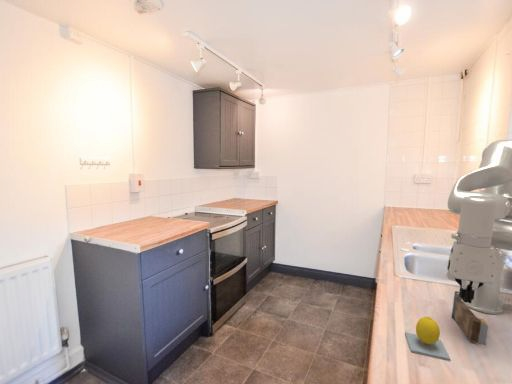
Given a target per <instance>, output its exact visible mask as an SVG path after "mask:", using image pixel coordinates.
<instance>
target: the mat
mask: <svg viewBox="0 0 512 384" xmlns="http://www.w3.org/2000/svg"><path fill="white" fill-rule="evenodd" d="M404 336H405V338H406V342H407V345H408V348H409V351H410V353H413V354H417V355H418V354H419V355H424V356H427V357H432V358H436V359H440V360H444V361H449V362H450V361H451V357H450V355H449V353H448V351H447V349H446V347H445V346H444V343H443V342H442V340H441V339H440V338H439V339H438V341H437V342H436V343H434V344H427V345H426V344H425V343H424V342H422V341H421V340H420V339H419V338H418V336H417V334H416V333H410V332H406V331H405V332H404Z"/></svg>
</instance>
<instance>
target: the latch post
mask: <svg viewBox="0 0 512 384" xmlns="http://www.w3.org/2000/svg"><path fill="white" fill-rule="evenodd" d="M478 319H479V320H480V321H481V328H480V335H479V341H478V342H475V344H476V345H480V346H486V343H487V336H488V330H489V325H488V323H487V322H486V320H485V319H484V318H478Z"/></svg>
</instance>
